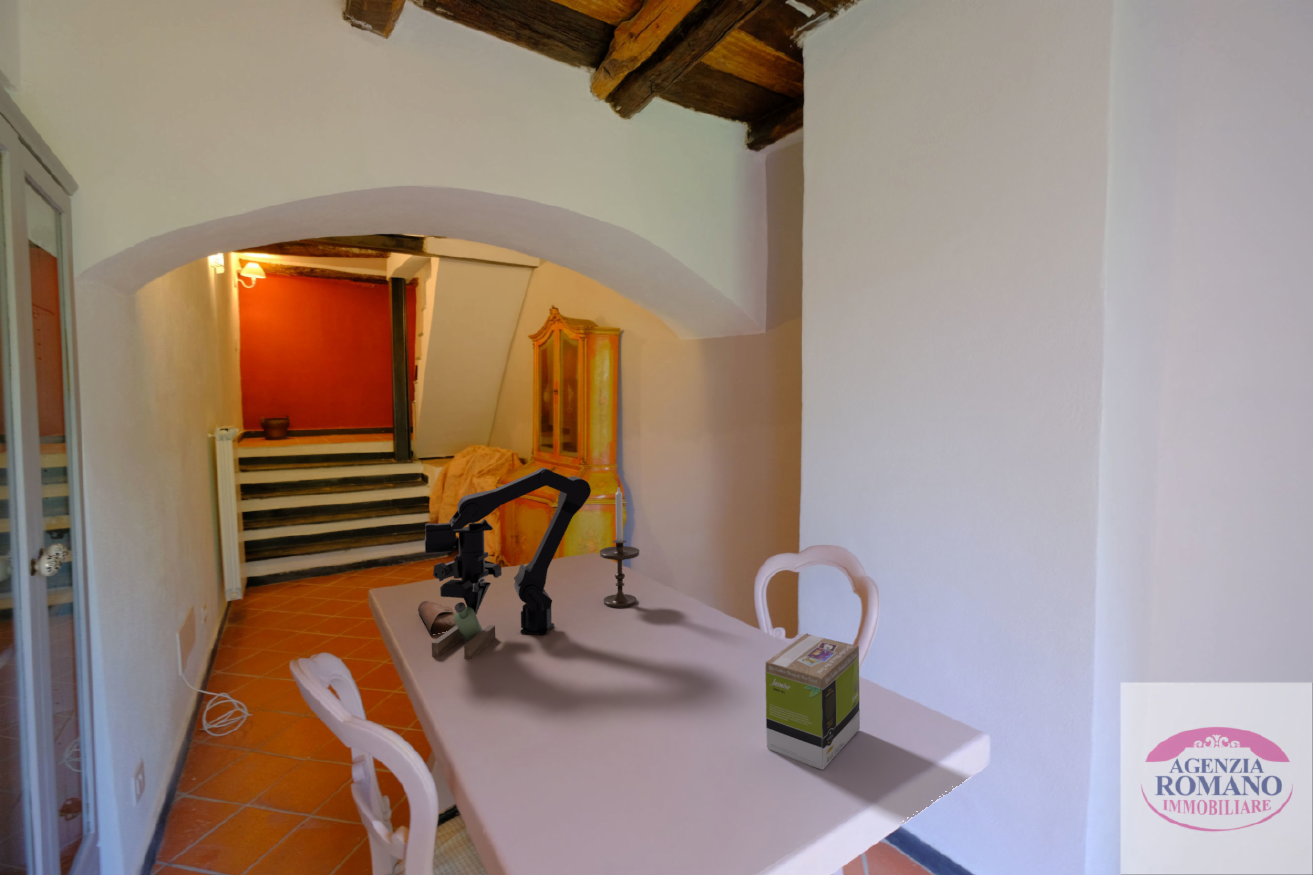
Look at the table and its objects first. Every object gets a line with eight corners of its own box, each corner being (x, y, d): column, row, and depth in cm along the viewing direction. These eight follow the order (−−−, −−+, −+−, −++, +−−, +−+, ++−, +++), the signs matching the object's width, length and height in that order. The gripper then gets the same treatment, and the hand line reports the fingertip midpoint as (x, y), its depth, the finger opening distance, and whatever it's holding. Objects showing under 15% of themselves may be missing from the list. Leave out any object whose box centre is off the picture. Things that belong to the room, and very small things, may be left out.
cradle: (495, 637, 144) (495, 625, 144) (470, 658, 133) (470, 645, 132) (459, 635, 146) (459, 622, 146) (432, 655, 134) (431, 642, 134)
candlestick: (595, 599, 172) (593, 475, 170) (630, 594, 176) (629, 473, 174) (608, 611, 162) (607, 479, 160) (646, 605, 166) (645, 477, 164)
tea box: (805, 711, 109) (806, 630, 108) (861, 730, 103) (862, 644, 102) (763, 749, 98) (764, 658, 97) (823, 773, 91) (824, 676, 90)
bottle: (485, 626, 145) (472, 598, 139) (478, 643, 141) (465, 614, 135) (467, 625, 146) (454, 598, 140) (460, 642, 142) (446, 614, 136)
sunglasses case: (466, 628, 150) (451, 608, 148) (441, 648, 147) (425, 627, 145) (450, 607, 166) (436, 588, 164) (427, 625, 163) (413, 606, 161)
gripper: (460, 539, 153) (461, 600, 154) (417, 558, 135) (419, 627, 136) (501, 541, 151) (503, 603, 152) (463, 560, 133) (465, 631, 134)
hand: (473, 615), depth 144 cm, fingers closed
